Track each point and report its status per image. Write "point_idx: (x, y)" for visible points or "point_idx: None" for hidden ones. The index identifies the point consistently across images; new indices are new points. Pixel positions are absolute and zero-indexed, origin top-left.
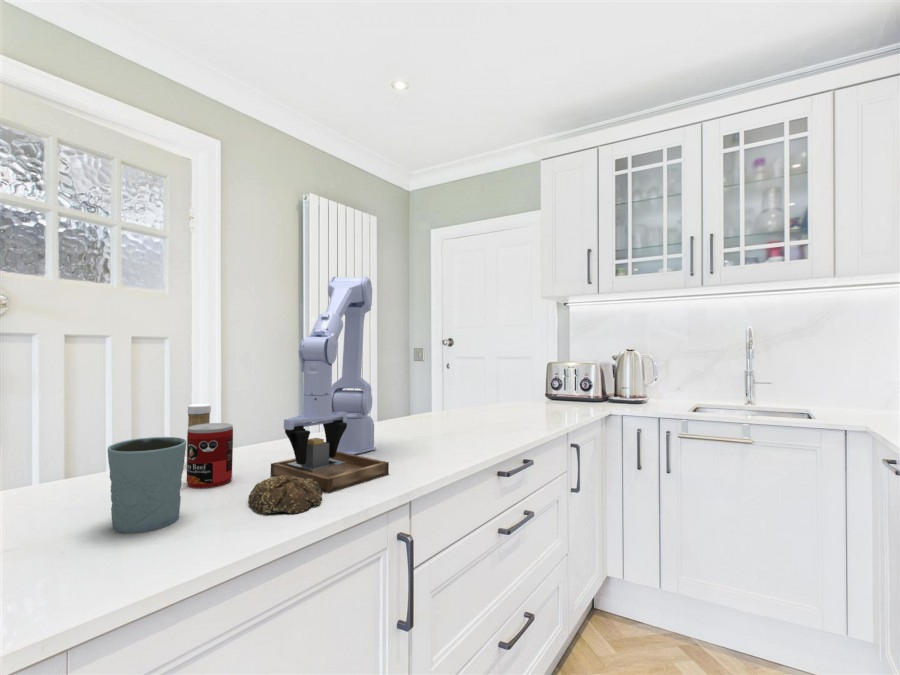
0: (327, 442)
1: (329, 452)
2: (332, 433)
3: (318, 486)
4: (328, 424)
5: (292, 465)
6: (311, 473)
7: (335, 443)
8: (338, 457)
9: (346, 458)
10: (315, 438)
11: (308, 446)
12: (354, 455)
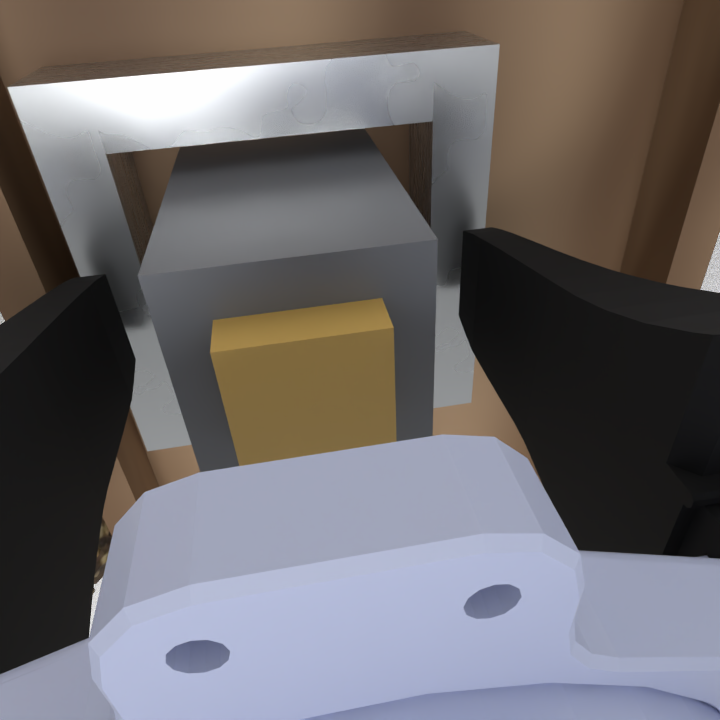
0: (527, 295)
1: (474, 288)
2: (571, 458)
3: (99, 575)
4: (671, 481)
5: (53, 203)
6: (115, 489)
7: (515, 419)
8: (701, 44)
9: (671, 176)
10: (349, 364)
11: (182, 406)
12: (696, 262)
